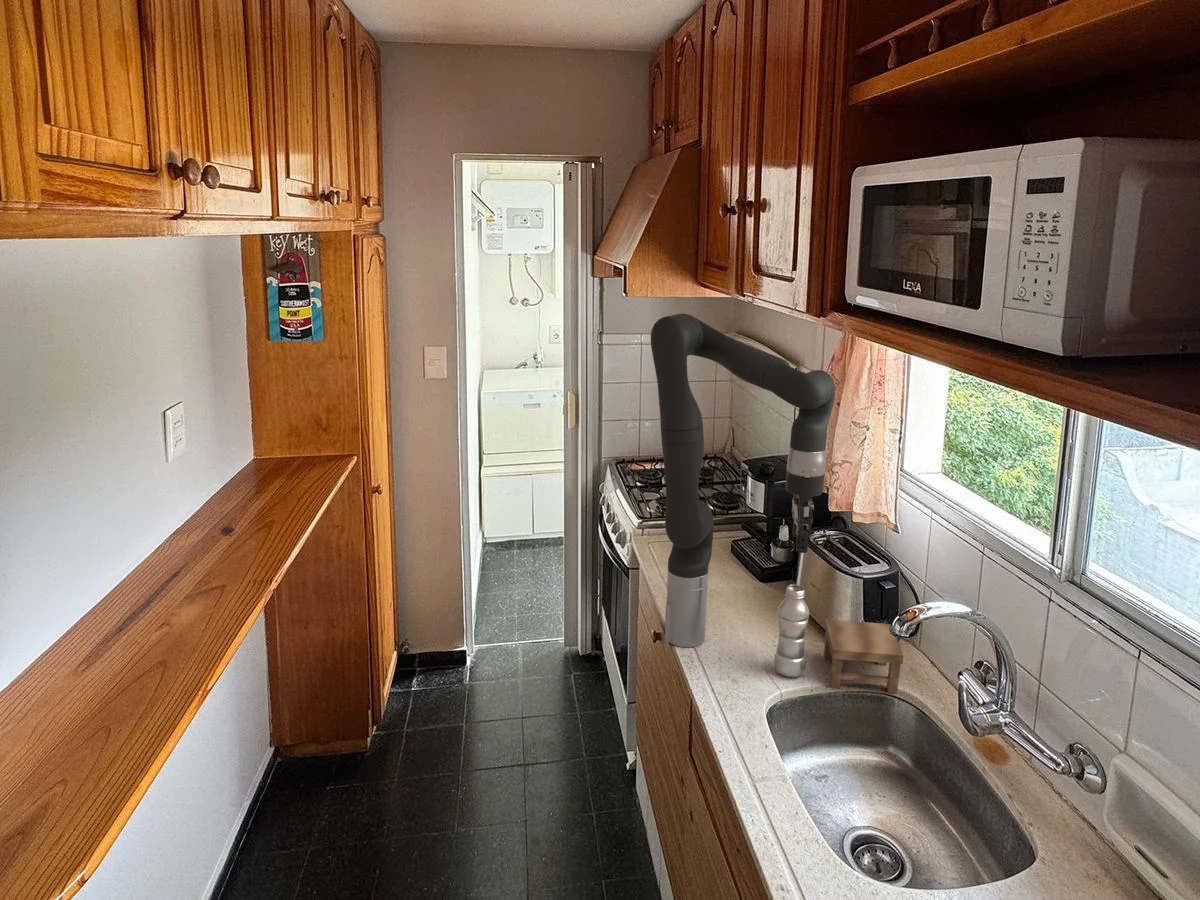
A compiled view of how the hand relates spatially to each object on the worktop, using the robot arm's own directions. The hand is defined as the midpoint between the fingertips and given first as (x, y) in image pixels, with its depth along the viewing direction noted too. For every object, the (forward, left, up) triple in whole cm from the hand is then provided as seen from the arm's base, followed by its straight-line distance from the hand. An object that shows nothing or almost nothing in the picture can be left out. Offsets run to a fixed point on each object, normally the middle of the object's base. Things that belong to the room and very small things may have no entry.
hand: (799, 544), depth 172 cm
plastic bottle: (0, 0, -30) cm, 30 cm away
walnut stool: (+15, +2, -30) cm, 33 cm away
